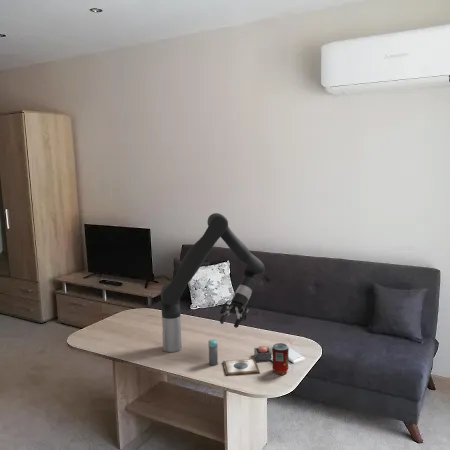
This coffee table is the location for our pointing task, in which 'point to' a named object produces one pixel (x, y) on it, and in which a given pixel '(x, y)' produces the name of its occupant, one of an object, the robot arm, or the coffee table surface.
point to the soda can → (280, 358)
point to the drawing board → (240, 367)
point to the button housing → (262, 355)
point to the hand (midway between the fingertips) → (228, 325)
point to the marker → (213, 352)
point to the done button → (262, 349)
